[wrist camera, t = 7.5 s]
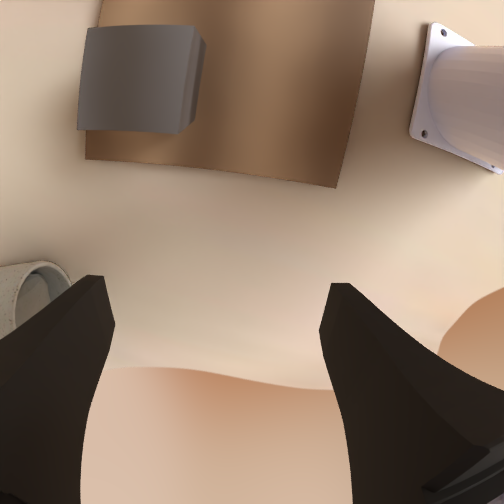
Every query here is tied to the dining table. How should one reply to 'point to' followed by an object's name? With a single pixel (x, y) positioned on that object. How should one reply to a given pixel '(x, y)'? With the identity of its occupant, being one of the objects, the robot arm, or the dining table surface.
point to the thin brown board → (225, 84)
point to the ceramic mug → (28, 291)
